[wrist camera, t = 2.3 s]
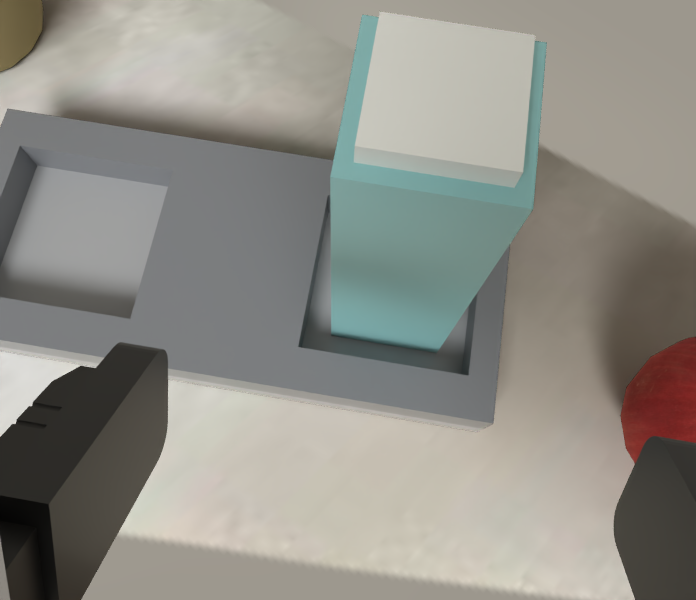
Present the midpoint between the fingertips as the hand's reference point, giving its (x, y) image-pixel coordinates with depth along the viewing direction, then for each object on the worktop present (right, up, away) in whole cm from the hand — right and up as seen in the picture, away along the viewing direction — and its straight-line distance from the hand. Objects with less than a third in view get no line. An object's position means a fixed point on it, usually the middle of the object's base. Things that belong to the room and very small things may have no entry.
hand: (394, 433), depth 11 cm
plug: (+1, +2, +14) cm, 14 cm away
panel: (-5, +3, +15) cm, 16 cm away
